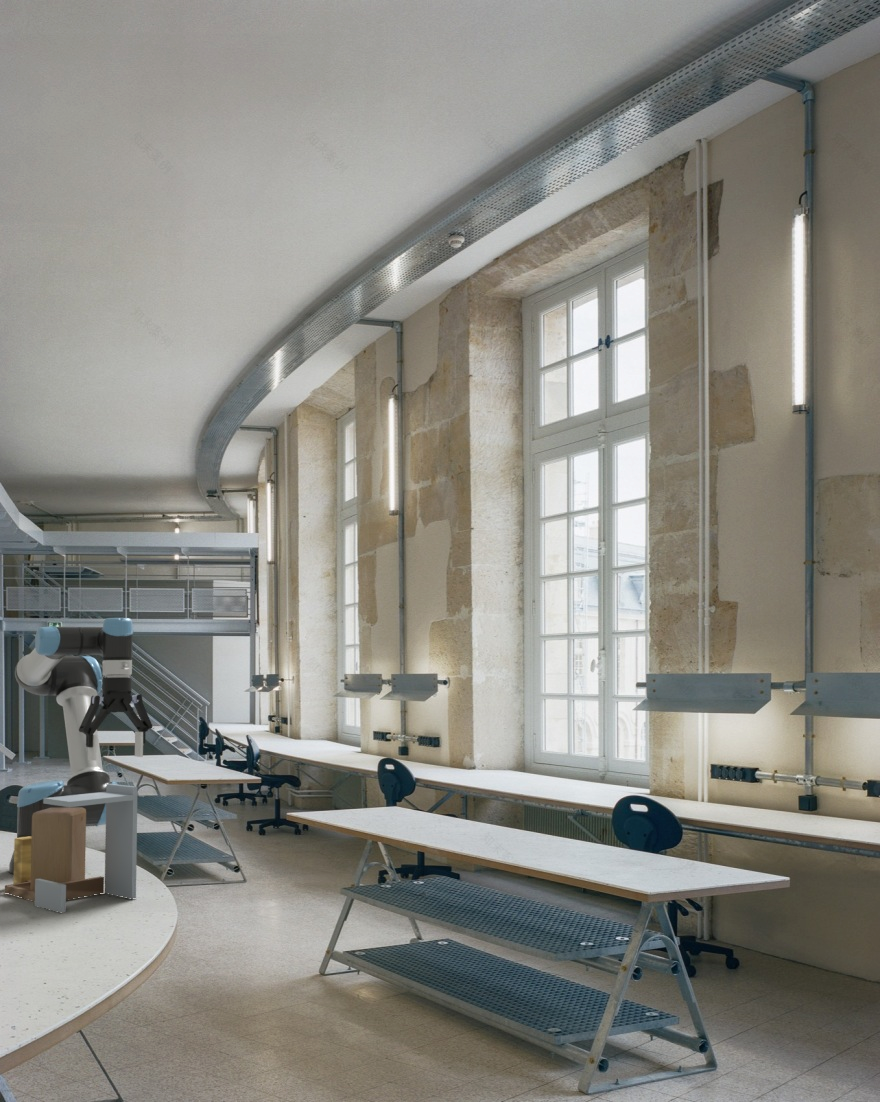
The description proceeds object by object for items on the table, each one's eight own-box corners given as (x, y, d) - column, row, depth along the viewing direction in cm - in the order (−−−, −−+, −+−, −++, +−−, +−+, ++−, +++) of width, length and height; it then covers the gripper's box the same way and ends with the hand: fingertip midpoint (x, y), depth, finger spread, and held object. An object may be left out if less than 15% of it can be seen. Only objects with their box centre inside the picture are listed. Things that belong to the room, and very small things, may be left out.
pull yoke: (-8, 890, 272) (-7, 841, 274) (48, 881, 284) (49, 833, 285) (45, 904, 255) (46, 851, 256) (103, 894, 266) (104, 843, 268)
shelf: (34, 906, 254) (37, 790, 257) (108, 892, 268) (110, 783, 270) (60, 913, 246) (63, 794, 248) (135, 899, 260) (137, 786, 262)
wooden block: (86, 890, 271) (87, 806, 273) (69, 898, 261) (70, 812, 263) (46, 889, 271) (48, 807, 274) (28, 898, 262) (30, 812, 264)
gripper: (81, 677, 279) (79, 762, 277) (166, 675, 298) (165, 755, 295) (66, 677, 284) (64, 761, 282) (150, 675, 303) (149, 754, 300)
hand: (115, 758), depth 289 cm, fingers open, 13 cm apart
